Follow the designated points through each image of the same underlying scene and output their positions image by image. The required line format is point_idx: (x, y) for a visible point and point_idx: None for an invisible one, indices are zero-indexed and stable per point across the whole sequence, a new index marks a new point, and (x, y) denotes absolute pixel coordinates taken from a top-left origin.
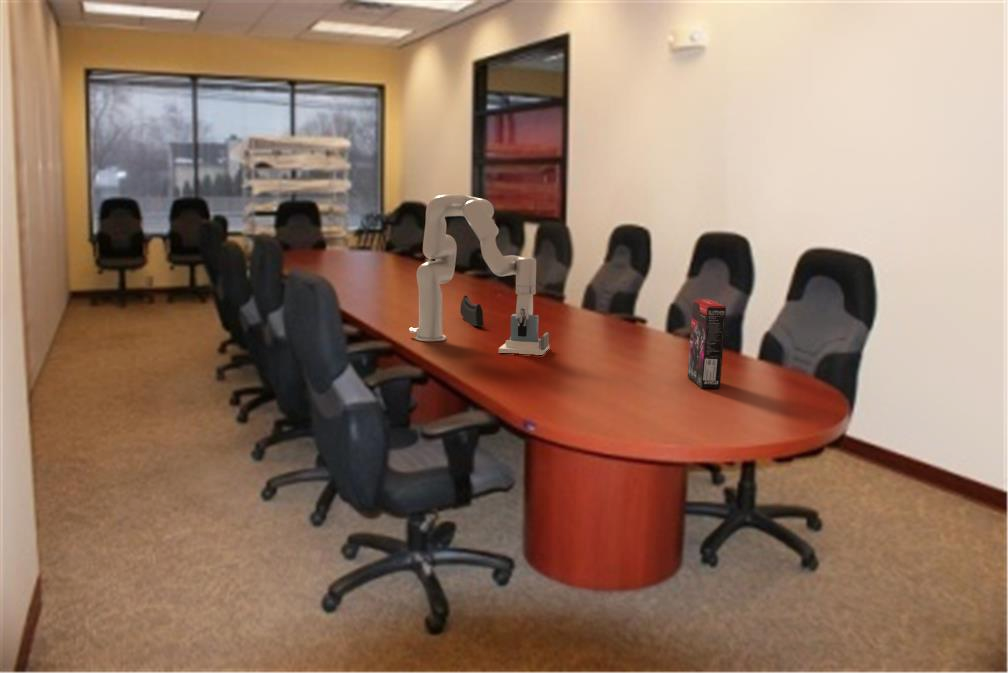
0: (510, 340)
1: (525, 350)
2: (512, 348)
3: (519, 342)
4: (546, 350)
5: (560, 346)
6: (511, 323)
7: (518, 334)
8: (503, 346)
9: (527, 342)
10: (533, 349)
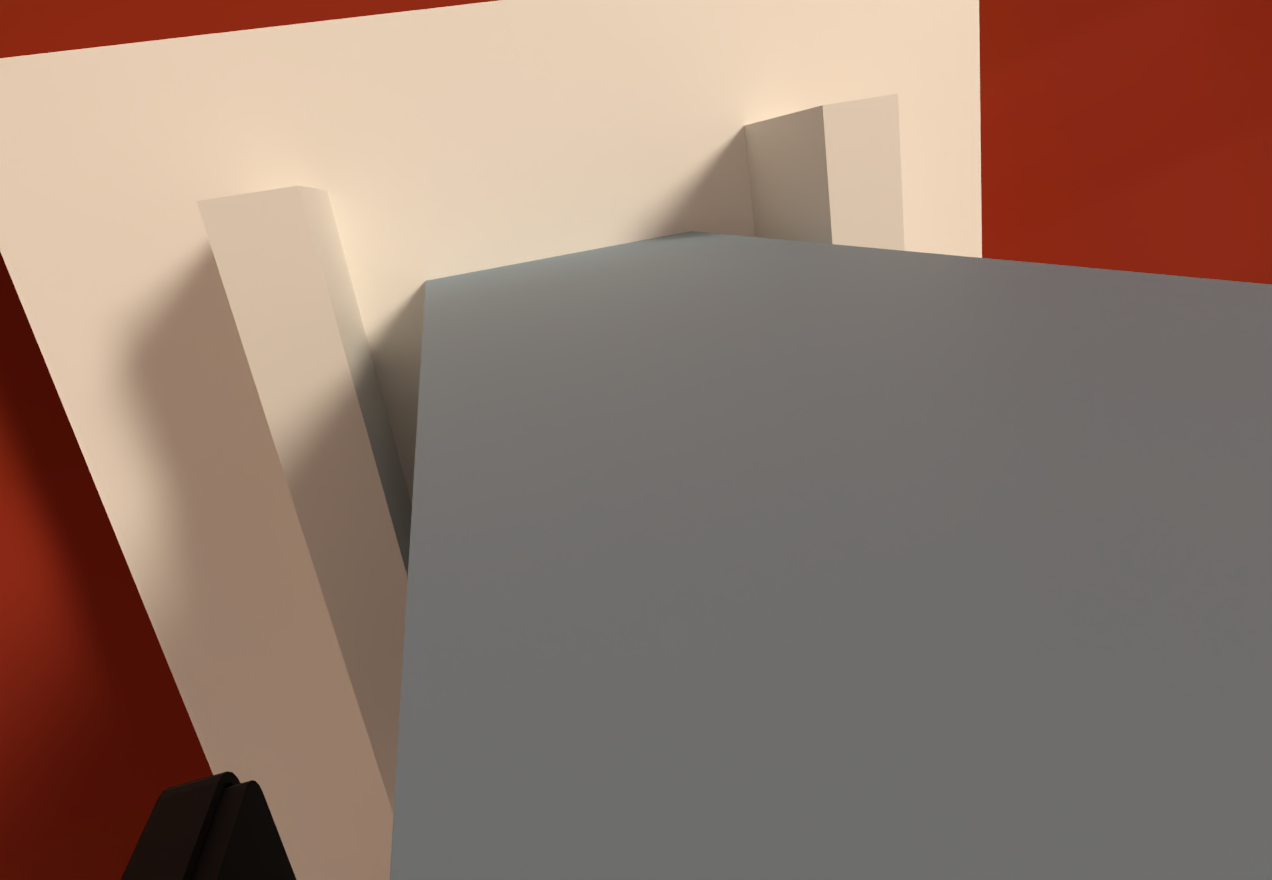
0: (424, 299)
1: (220, 767)
2: (193, 444)
3: (345, 632)
4: None
5: None
6: (441, 560)
7: (155, 844)
8: (315, 98)
9: None
10: (382, 866)
